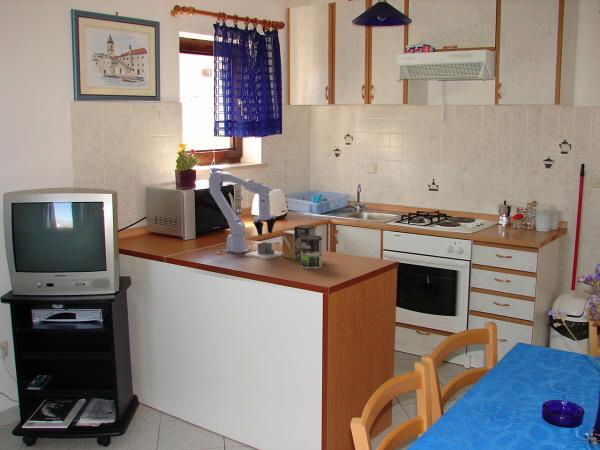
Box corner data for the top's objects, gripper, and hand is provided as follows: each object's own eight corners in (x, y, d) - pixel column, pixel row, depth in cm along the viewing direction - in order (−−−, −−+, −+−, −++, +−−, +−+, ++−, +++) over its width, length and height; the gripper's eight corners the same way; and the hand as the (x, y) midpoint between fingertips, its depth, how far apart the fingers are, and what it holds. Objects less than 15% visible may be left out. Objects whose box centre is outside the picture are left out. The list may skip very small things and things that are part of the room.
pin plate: (245, 256, 352) (245, 246, 351) (264, 251, 362) (263, 241, 362) (265, 259, 343) (265, 249, 342) (284, 254, 354) (283, 244, 353)
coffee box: (293, 258, 344) (293, 226, 341) (301, 256, 349) (300, 224, 346) (309, 260, 338) (308, 228, 336) (316, 258, 343) (316, 226, 341)
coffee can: (311, 270, 320) (311, 240, 317) (296, 266, 327) (295, 237, 324) (327, 266, 327) (326, 236, 324) (311, 263, 334) (311, 234, 332)
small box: (282, 256, 348) (281, 231, 346) (291, 254, 353) (291, 229, 351) (293, 259, 343) (293, 233, 340) (302, 257, 347) (302, 231, 345)
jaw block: (257, 253, 352) (257, 243, 351) (264, 251, 356) (264, 242, 355) (269, 255, 347) (269, 245, 346) (276, 253, 351) (275, 243, 350)
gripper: (260, 210, 350) (261, 236, 352) (279, 207, 361) (280, 232, 363) (250, 209, 354) (251, 235, 357) (269, 206, 365) (270, 231, 368)
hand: (265, 234), depth 360 cm, fingers open, 7 cm apart
